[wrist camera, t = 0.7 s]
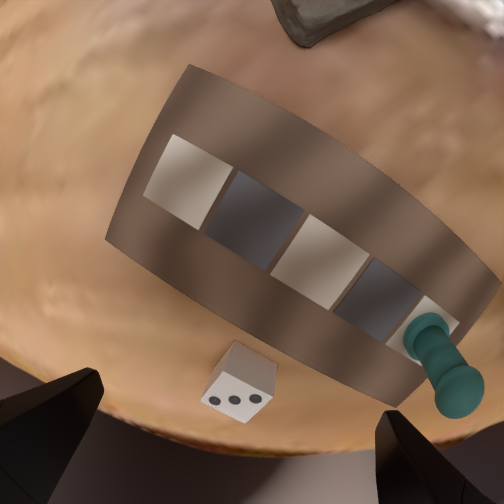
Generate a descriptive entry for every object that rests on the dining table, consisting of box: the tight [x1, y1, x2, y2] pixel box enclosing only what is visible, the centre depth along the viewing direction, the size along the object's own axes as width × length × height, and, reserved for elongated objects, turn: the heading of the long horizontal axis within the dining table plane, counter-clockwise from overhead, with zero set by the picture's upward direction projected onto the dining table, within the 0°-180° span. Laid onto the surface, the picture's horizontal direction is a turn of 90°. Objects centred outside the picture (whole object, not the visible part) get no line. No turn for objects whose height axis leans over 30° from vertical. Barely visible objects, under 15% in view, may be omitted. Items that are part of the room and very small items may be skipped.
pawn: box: [403, 312, 484, 419], centre depth 14 cm, size 4×4×8 cm
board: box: [105, 64, 502, 408], centre depth 19 cm, size 28×14×1 cm, turn 59°
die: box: [200, 341, 278, 423], centre depth 21 cm, size 4×4×4 cm
